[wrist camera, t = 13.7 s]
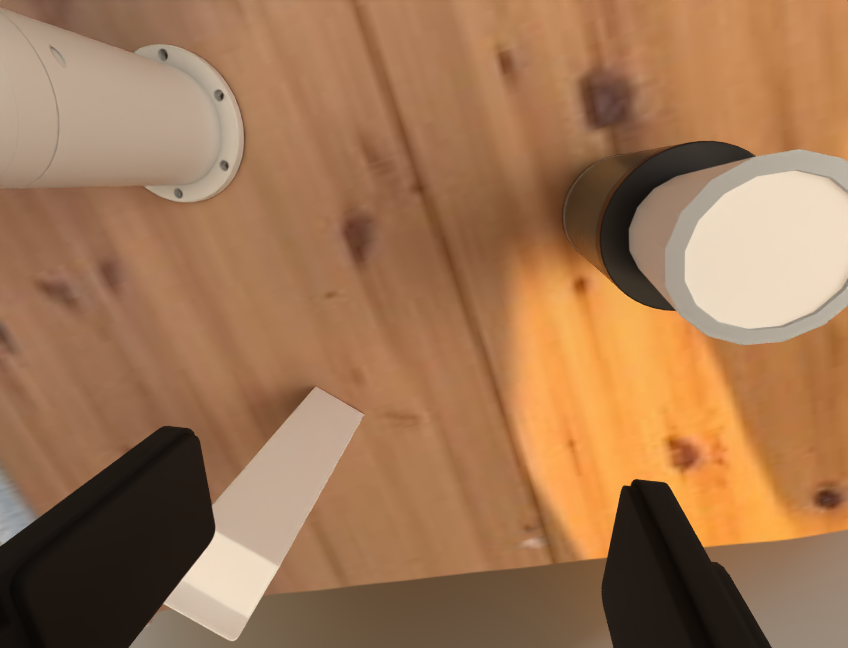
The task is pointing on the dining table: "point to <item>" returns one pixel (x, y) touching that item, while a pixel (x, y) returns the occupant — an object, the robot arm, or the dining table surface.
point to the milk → (264, 515)
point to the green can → (630, 207)
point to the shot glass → (750, 245)
